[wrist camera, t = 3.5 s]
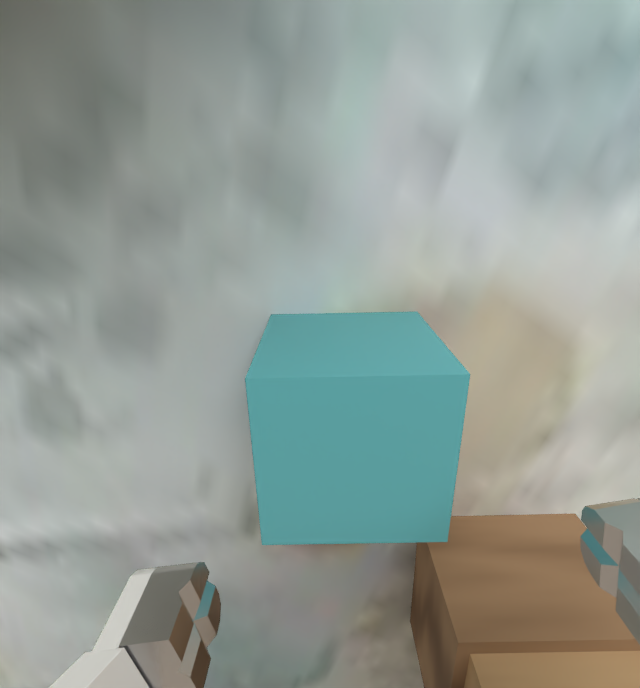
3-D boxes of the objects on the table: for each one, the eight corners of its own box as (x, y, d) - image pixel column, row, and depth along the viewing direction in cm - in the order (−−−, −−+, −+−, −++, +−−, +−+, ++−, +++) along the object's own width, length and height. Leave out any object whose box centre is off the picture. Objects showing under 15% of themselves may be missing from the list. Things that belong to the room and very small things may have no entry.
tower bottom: (545, 616, 22) (619, 755, 17) (409, 619, 23) (439, 758, 17) (574, 512, 20) (675, 638, 14) (419, 515, 20) (458, 642, 14)
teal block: (407, 433, 18) (447, 541, 12) (279, 436, 18) (262, 545, 12) (416, 311, 16) (470, 374, 10) (271, 313, 16) (245, 378, 10)
